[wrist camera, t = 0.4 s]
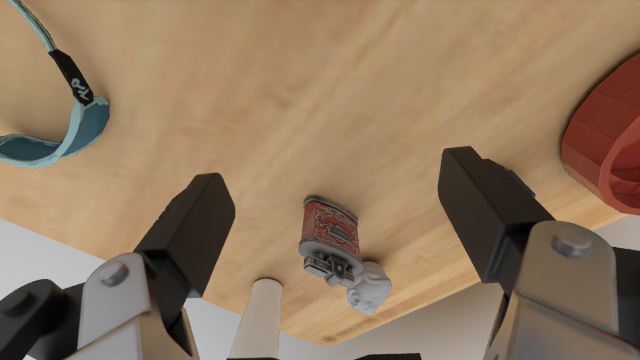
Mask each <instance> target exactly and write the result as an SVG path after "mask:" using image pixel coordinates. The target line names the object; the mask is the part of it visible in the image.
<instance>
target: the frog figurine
mask: <svg viewBox="0 0 640 360" xmlns="http://www.w3.org/2000/svg"><path fill="white" fill-rule="evenodd" d="M354 276H355V286H354V287H352V288H347V299H348V304H349V306H350V307H351V308H353V309H355V310H357V311H360V312H364V313H365V314H369V315H371V314H374V313H375V310H376V309H377V308H378V307H379V306H380V305H382V304H383V303H384V302H385V300H386V299H387V297H388V295H389V294H390V292H391V289H392V284H391V281H390V279H389V278H387V276H386V273H385V271H384V269H383V268H382V267H381V266H380V265H379V264H377V263H375V262H371V261H367V262H363V271H362V272H361V273H359V274H358V275H354Z"/></svg>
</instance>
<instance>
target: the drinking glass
mask: <svg viewBox="0 0 640 360" xmlns="http://www.w3.org/2000/svg"><path fill="white" fill-rule="evenodd" d="M282 296H283V287H282V285H281V284H280V283H279V282H277V281H275V280H272V279H260V280H258V281H256V282H255V283H254V284H253V286H252V289H251V292H250V296H249V299H248V302H247V305H246V308H245V311H244V314H243V316H242V319H241V322H240V325H239V328H238V331H237V334H236V336H235V340H234V342H233V345H232V348H231V351H230V354H229V357H228V358H262V357H272V358H276V359H278V349H279V334H280V318H281V304H282Z"/></svg>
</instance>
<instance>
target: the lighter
mask: <svg viewBox="0 0 640 360" xmlns="http://www.w3.org/2000/svg"><path fill="white" fill-rule="evenodd" d="M303 208H304V220H303V229H302V239H301V241H300V243H299V253H300V254H301V255H302V256H304V257H305V259H304V265H303V269H304V270H305V271H307V272H309V273H311V274H314V275H316V276H318V277H321V278H322V277H323V278H324V279H325V280H326V282H327V284H328V285H330V286H335V285H336V284H339V285H341V286H344V287H346V288H352V287H354V286H355V276H354V275H358V274H359V273H361V272H362V271H363V261H362V260H361V257H360V249H359V240H358V231H357V227H358V219H357V217H356V216H355V215H353V214H352V213H351V212H350V211H349V210H347V209H346V208H344V207H342V206H341V205H339V204H337V203H335V202H333V201H331V200H329V199H326V198H323V197H320V196H317V195H311V196H308V197H307V198H306V199H305V201H304V207H303Z"/></svg>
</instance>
